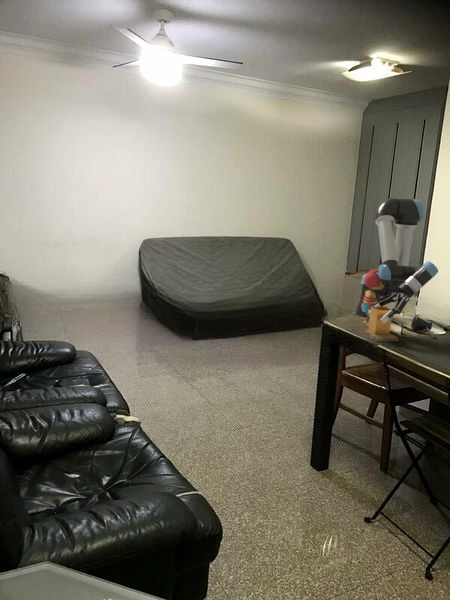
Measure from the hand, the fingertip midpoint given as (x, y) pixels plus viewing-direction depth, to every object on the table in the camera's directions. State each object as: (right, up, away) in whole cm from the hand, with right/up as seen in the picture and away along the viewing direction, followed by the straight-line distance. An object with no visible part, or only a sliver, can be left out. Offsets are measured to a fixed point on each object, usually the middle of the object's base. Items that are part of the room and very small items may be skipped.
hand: (375, 317), depth 234 cm
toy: (+3, -5, +20) cm, 21 cm away
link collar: (+2, -7, +2) cm, 8 cm away
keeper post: (+2, -9, +1) cm, 9 cm away
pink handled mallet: (+27, -8, +10) cm, 30 cm away
